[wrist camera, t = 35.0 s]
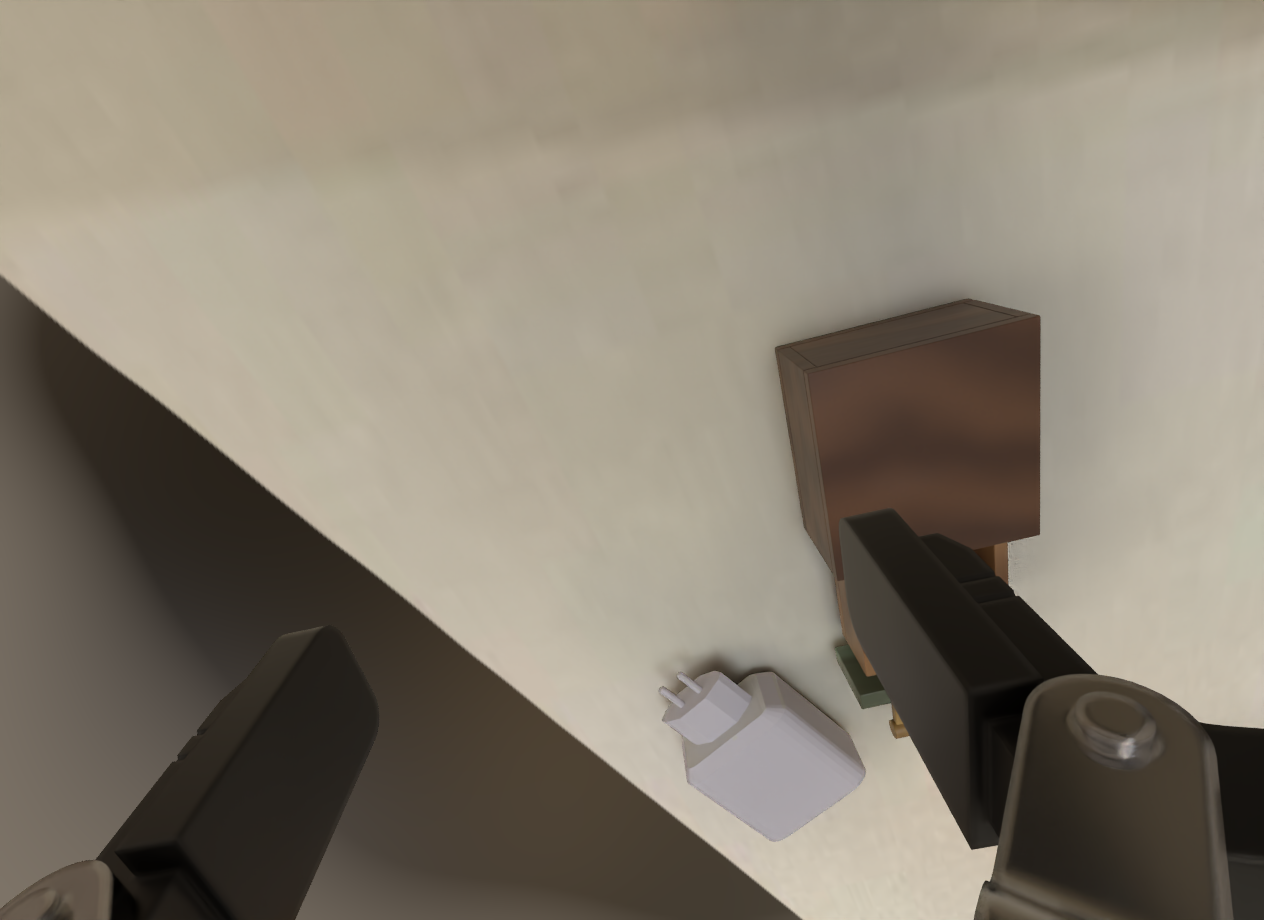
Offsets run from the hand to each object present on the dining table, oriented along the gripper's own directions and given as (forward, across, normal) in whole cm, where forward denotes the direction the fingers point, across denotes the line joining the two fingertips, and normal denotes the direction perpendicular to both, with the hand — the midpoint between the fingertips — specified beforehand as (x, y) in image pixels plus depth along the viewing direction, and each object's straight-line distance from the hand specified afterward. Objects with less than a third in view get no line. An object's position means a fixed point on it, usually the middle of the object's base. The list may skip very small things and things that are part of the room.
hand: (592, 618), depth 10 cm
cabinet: (+28, -15, +10) cm, 33 cm away
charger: (+27, -2, +31) cm, 41 cm away
